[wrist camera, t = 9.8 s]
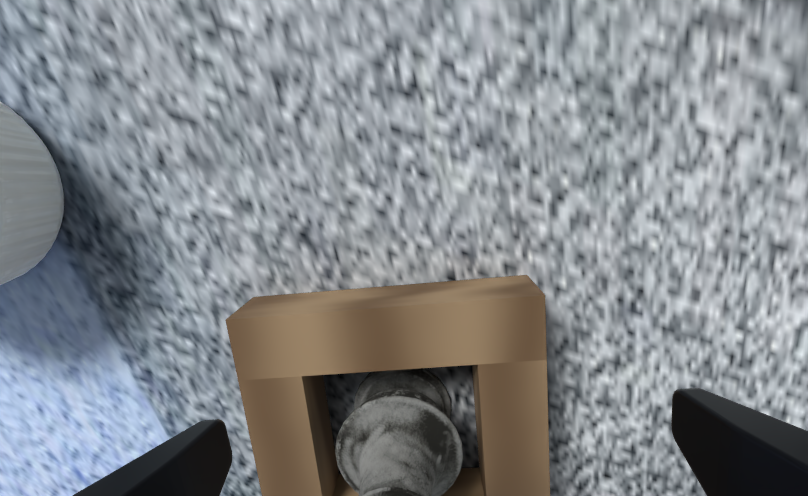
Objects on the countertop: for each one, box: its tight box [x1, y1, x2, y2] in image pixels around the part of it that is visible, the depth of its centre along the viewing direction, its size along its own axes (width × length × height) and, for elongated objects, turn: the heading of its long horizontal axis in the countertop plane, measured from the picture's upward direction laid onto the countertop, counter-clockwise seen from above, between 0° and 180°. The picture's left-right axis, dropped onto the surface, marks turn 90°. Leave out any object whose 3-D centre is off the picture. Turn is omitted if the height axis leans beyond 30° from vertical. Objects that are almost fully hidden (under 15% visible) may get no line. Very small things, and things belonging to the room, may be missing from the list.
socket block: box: [226, 275, 550, 496], centre depth 20 cm, size 14×14×3 cm
